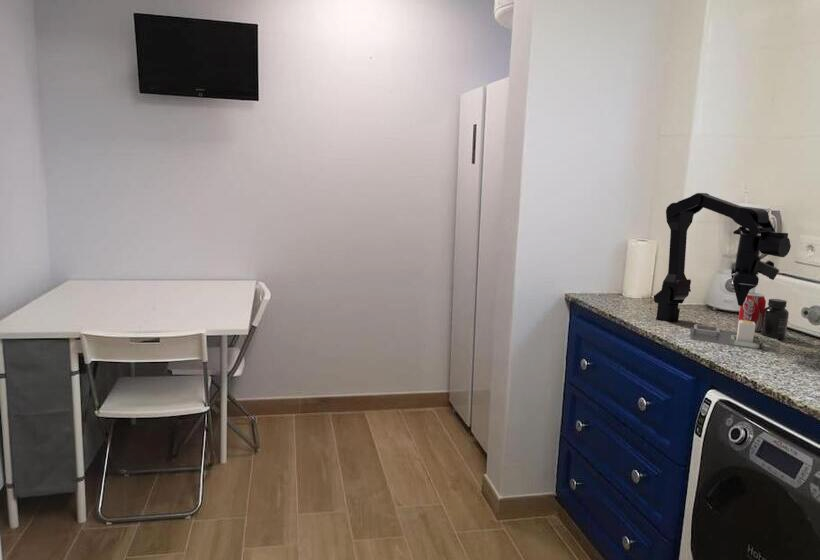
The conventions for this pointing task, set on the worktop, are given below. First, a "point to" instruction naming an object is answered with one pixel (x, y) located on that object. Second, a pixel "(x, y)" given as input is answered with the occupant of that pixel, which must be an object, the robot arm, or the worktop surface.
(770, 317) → the supplement bottle
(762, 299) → the soda can
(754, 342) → the panel
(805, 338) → the worktop surface
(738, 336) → the plug
